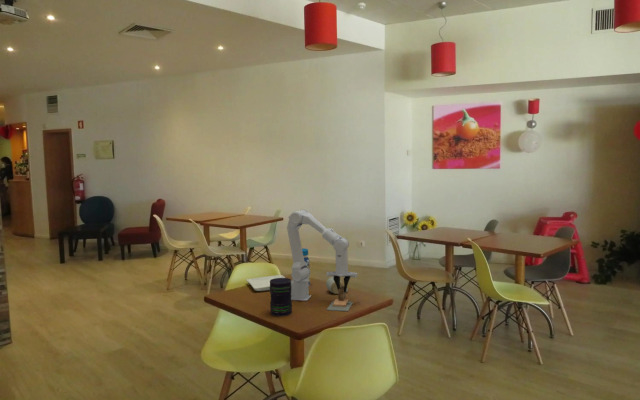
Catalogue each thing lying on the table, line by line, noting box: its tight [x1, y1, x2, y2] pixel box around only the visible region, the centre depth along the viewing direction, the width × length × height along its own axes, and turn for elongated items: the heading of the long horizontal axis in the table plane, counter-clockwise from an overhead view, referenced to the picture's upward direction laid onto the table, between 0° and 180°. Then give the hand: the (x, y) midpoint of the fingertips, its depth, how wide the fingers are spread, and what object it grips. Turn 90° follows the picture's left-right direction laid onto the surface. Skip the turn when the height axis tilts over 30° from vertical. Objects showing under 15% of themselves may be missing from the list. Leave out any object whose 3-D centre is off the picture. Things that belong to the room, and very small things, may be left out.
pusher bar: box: [337, 285, 347, 300], centre depth 226 cm, size 2×7×5 cm, turn 166°
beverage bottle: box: [302, 247, 311, 287], centre depth 259 cm, size 8×8×20 cm
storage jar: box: [269, 277, 293, 317], centre depth 213 cm, size 10×10×15 cm
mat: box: [326, 299, 354, 312], centre depth 222 cm, size 10×14×1 cm
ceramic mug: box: [325, 276, 349, 295], centre depth 245 cm, size 11×8×8 cm
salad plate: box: [245, 274, 286, 292], centre depth 259 cm, size 21×21×3 cm
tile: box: [333, 298, 349, 307], centre depth 222 cm, size 6×1×6 cm
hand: (342, 291), depth 226 cm, fingers closed on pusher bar, 2 cm apart
